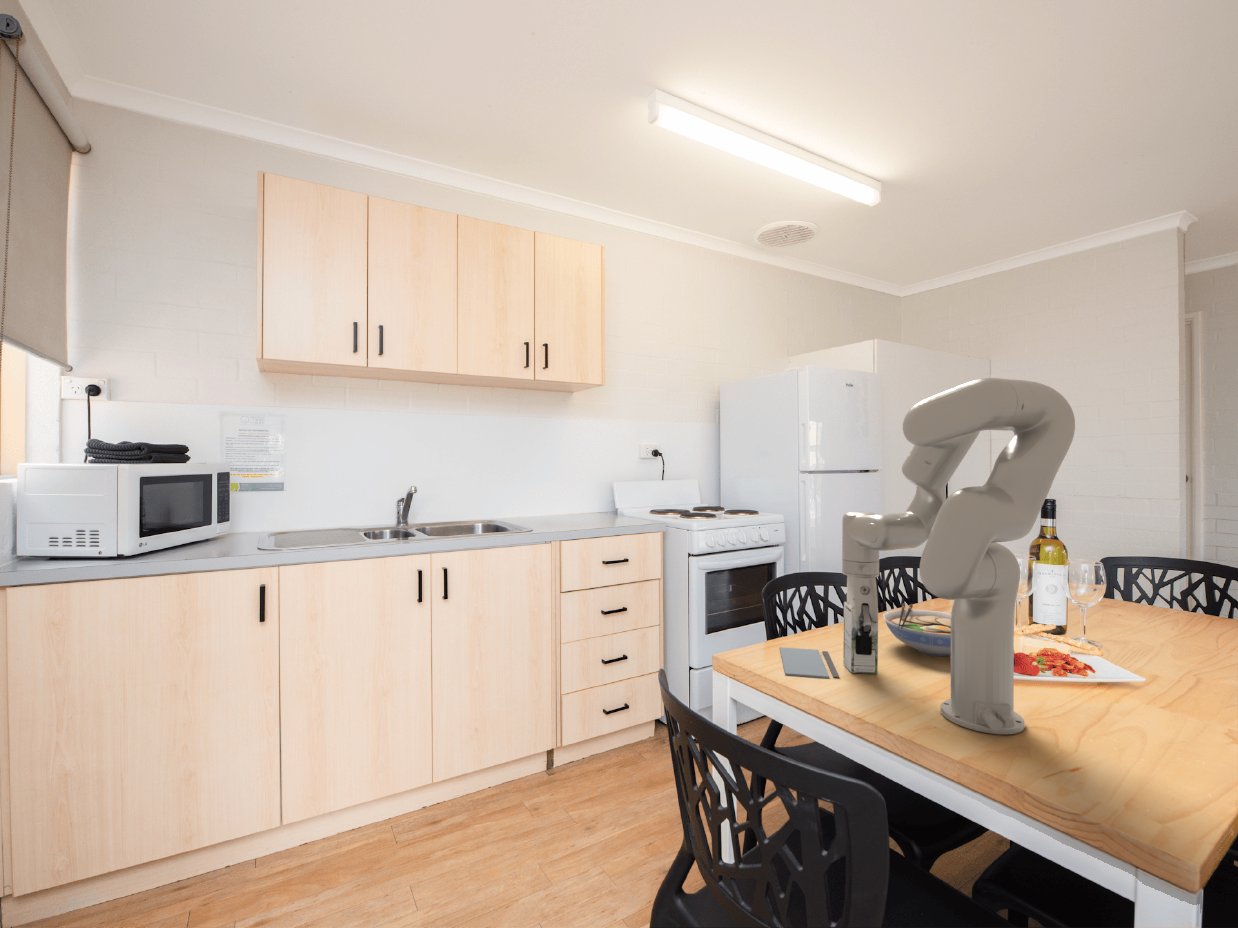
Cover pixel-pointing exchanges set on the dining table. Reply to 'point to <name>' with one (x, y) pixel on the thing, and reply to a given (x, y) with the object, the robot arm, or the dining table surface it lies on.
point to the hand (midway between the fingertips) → (860, 648)
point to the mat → (803, 662)
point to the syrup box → (852, 659)
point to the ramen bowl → (921, 629)
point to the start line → (830, 664)
